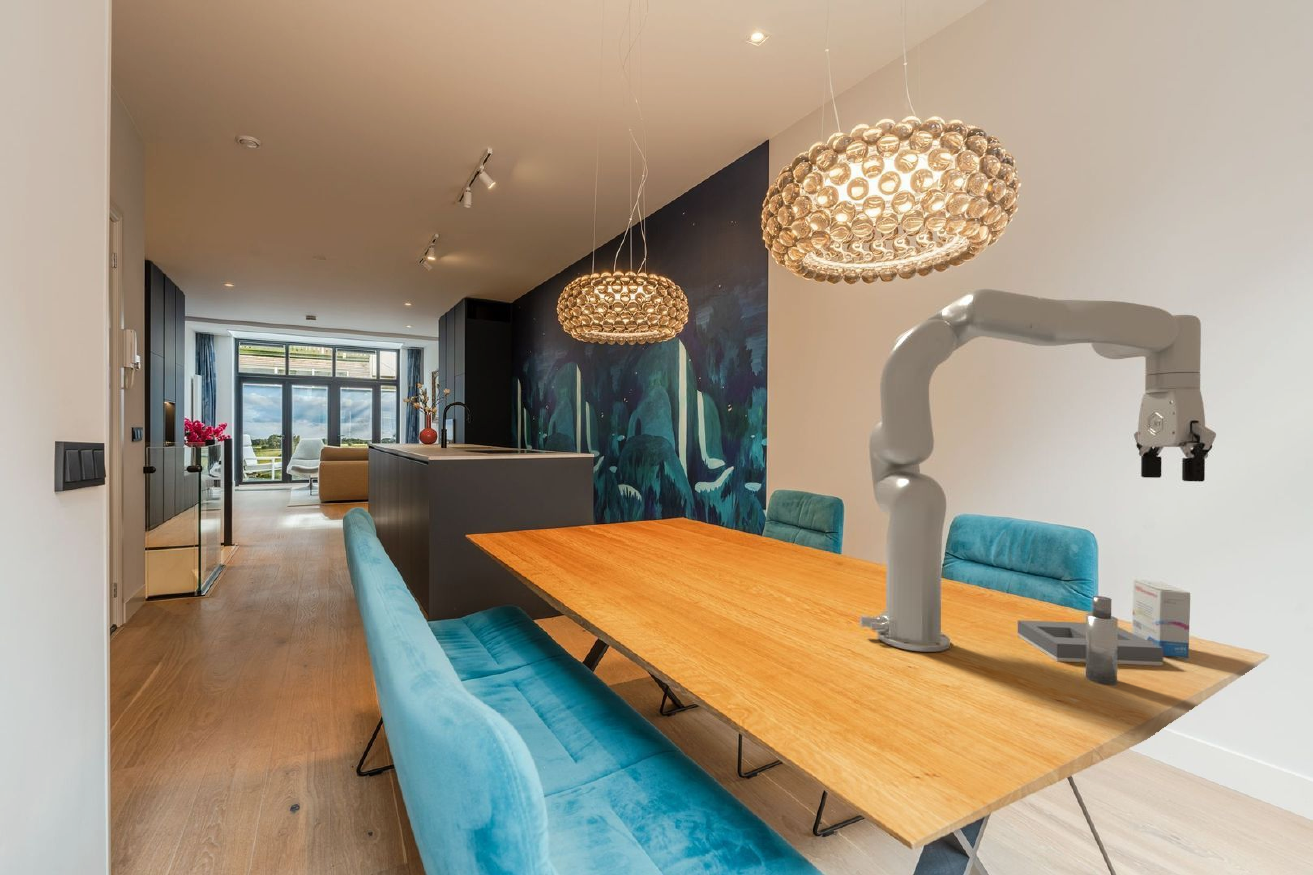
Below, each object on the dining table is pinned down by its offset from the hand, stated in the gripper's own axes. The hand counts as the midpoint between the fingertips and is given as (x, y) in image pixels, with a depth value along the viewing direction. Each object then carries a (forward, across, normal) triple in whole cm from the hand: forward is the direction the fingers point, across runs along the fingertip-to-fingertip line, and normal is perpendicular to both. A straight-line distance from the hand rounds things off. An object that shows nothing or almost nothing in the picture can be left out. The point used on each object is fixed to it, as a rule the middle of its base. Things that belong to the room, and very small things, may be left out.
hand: (1171, 479), depth 107 cm
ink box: (+32, -1, -1) cm, 32 cm away
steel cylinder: (+31, +15, -21) cm, 40 cm away
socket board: (+31, +1, -15) cm, 35 cm away
